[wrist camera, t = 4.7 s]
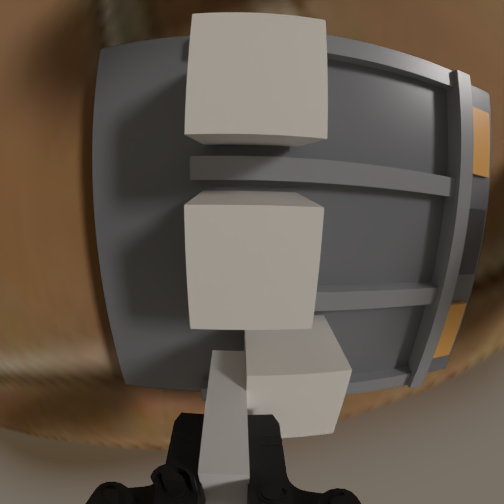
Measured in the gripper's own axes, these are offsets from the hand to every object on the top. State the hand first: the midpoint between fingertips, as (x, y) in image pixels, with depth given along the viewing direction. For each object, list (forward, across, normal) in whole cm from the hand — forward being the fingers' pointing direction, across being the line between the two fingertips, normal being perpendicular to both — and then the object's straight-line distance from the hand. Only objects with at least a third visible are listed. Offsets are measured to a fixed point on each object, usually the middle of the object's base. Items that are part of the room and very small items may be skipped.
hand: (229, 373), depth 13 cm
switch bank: (+4, +4, +6) cm, 9 cm away
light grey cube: (+2, +1, +6) cm, 7 cm away
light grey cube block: (+2, +1, +12) cm, 12 cm away
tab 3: (+2, +3, 0) cm, 3 cm away
